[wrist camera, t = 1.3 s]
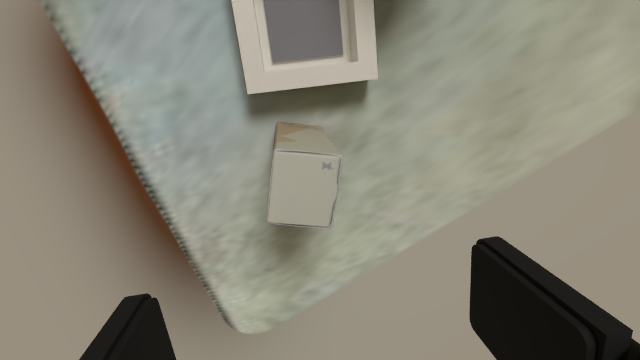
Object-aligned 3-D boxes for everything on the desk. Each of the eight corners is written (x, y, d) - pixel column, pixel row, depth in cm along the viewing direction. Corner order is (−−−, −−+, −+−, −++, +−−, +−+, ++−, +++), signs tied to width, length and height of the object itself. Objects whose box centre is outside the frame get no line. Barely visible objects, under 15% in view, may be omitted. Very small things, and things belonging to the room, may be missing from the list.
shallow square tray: (359, -58, 26) (369, -75, 23) (368, 79, 29) (377, 78, 26) (227, -46, 25) (220, -63, 22) (251, 93, 28) (247, 94, 26)
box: (276, 120, 29) (273, 143, 19) (323, 126, 30) (345, 151, 20) (270, 176, 31) (265, 226, 20) (315, 181, 32) (333, 231, 21)
